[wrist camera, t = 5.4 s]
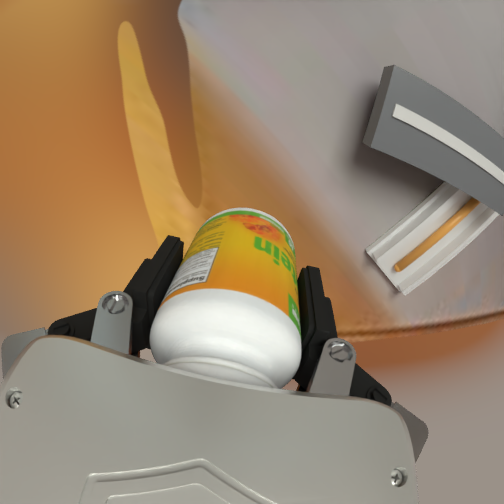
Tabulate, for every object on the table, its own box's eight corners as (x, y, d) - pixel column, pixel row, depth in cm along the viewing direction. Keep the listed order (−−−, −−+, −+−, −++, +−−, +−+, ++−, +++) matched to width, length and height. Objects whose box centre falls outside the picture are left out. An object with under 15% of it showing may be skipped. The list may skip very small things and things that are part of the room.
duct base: (484, 142, 21) (496, 147, 19) (504, 194, 24) (514, 201, 22) (365, 249, 31) (370, 259, 29) (397, 288, 34) (403, 299, 32)
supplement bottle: (313, 263, 15) (335, 440, 6) (236, 303, 17) (208, 457, 8) (254, 184, 13) (213, 363, 4) (176, 240, 15) (91, 395, 6)
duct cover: (517, 158, 19) (530, 164, 17) (498, 212, 23) (509, 221, 21) (384, 67, 18) (395, 64, 16) (362, 142, 22) (371, 147, 20)
